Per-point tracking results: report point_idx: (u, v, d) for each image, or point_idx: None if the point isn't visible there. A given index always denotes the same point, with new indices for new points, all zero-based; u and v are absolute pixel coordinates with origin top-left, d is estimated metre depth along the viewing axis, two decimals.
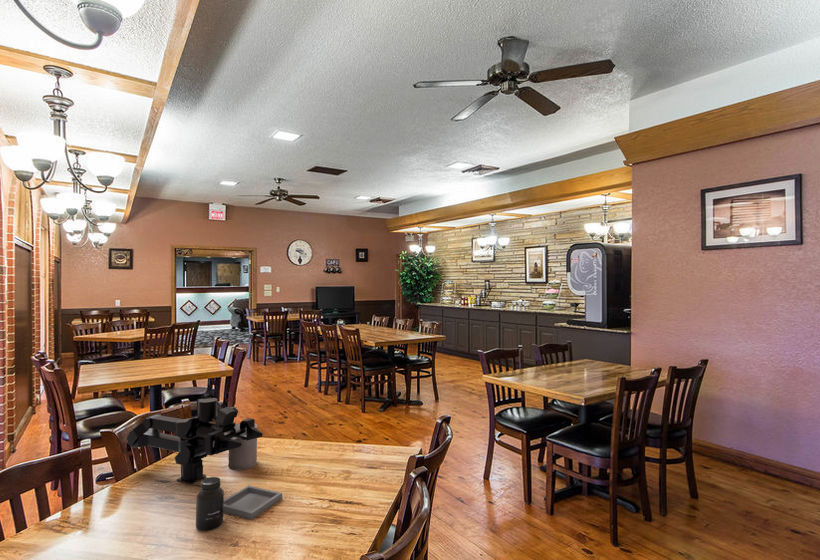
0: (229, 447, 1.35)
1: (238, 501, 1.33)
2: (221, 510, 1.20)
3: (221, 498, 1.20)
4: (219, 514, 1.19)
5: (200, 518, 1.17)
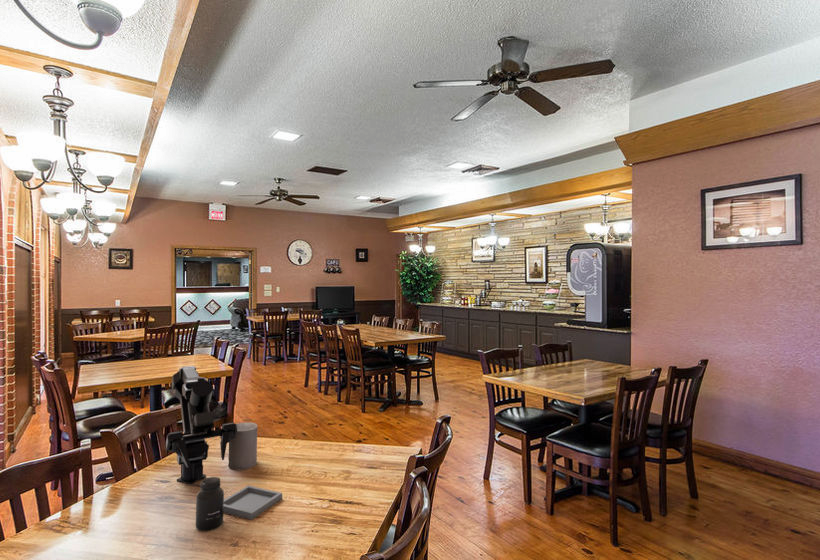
0: (182, 458, 1.27)
1: (238, 501, 1.33)
2: (221, 510, 1.20)
3: (221, 498, 1.20)
4: (219, 514, 1.19)
5: (200, 518, 1.17)
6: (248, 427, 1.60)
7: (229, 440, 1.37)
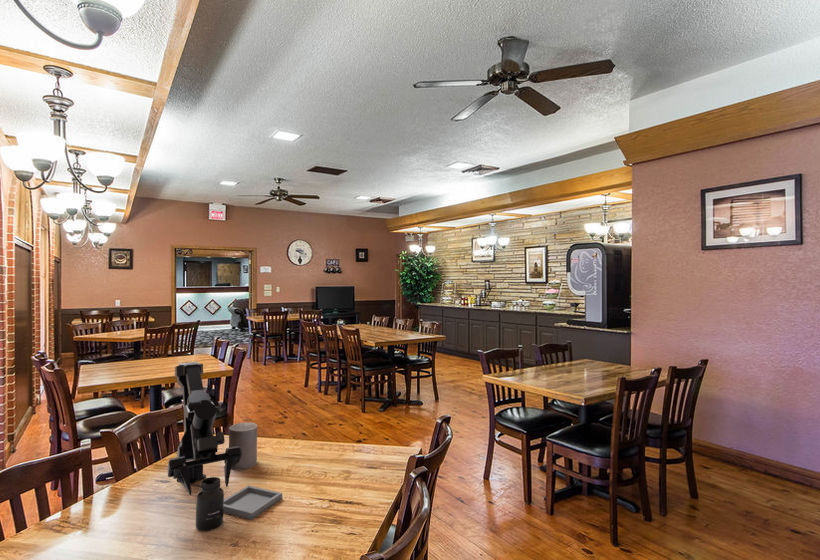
0: (184, 485, 1.21)
1: (238, 501, 1.33)
2: (221, 510, 1.20)
3: (221, 498, 1.20)
4: (219, 514, 1.19)
5: (200, 518, 1.17)
6: (248, 427, 1.60)
7: (233, 464, 1.31)
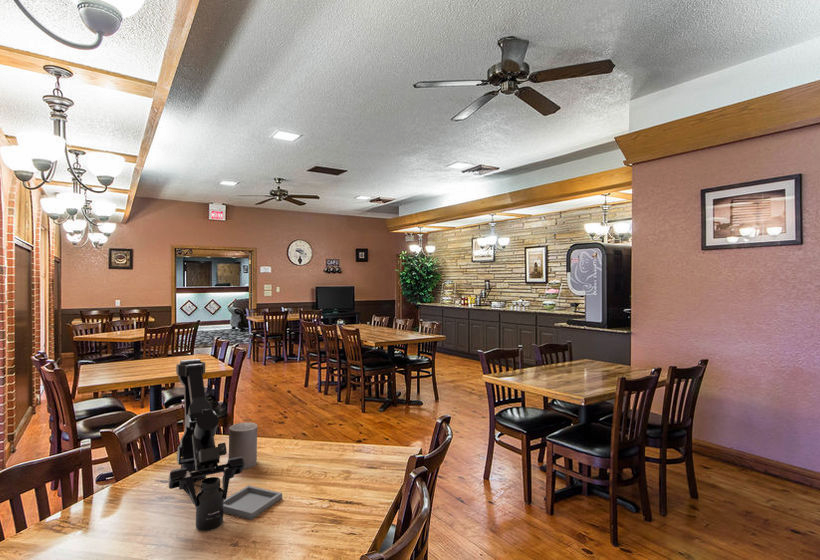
0: (189, 496, 1.20)
1: (238, 501, 1.33)
2: (221, 510, 1.20)
3: (221, 498, 1.20)
4: (219, 514, 1.19)
5: (200, 518, 1.17)
6: (248, 427, 1.60)
7: (232, 476, 1.28)
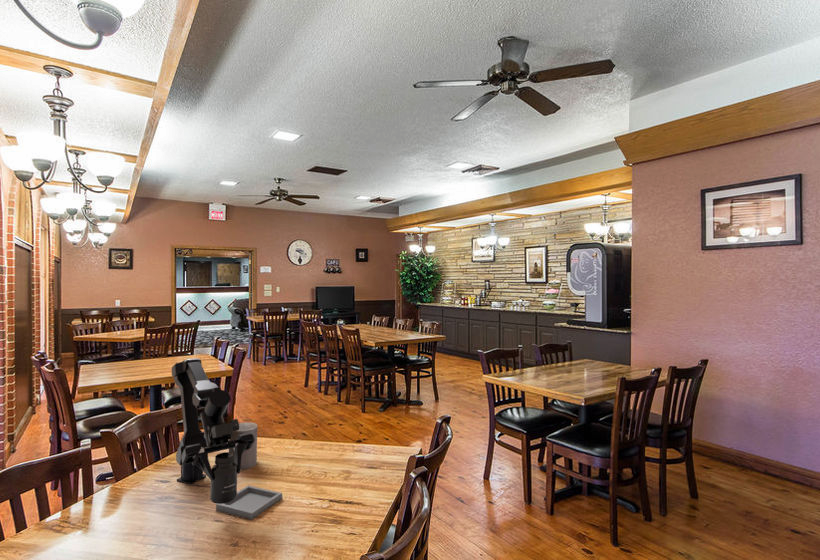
0: (204, 470, 1.22)
1: (238, 501, 1.33)
2: (235, 483, 1.24)
3: (235, 472, 1.24)
4: (234, 487, 1.23)
5: (216, 491, 1.21)
6: (248, 427, 1.60)
7: (242, 451, 1.32)
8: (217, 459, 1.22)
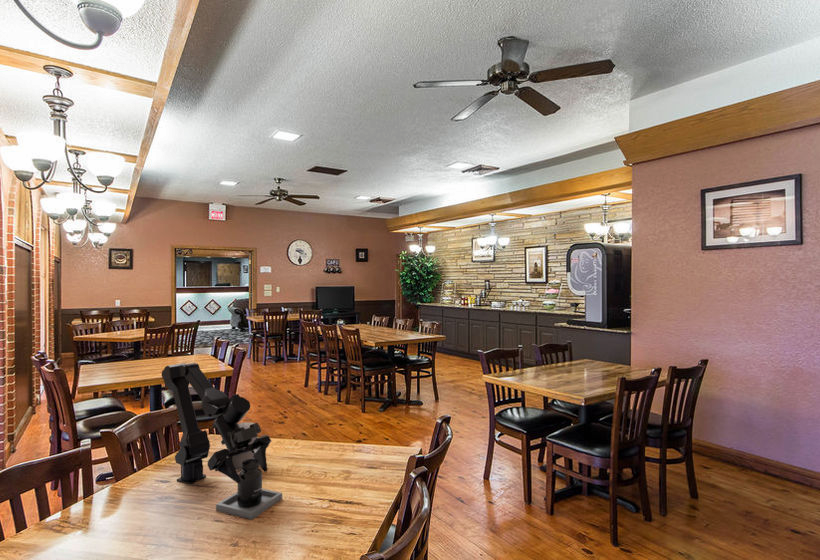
0: (229, 475, 1.28)
1: None
2: (261, 487, 1.33)
3: None
4: (261, 490, 1.32)
5: (246, 496, 1.29)
6: (248, 427, 1.60)
7: None
8: (245, 466, 1.30)
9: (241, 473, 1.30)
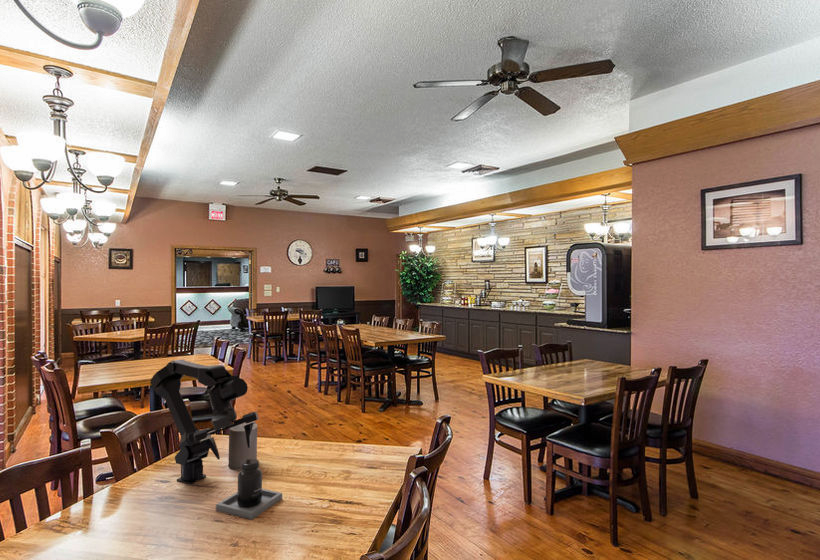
0: None
1: None
2: (261, 487, 1.33)
3: (261, 476, 1.33)
4: (261, 490, 1.32)
5: (246, 496, 1.29)
6: None
7: None
8: (245, 466, 1.30)
9: (241, 473, 1.30)
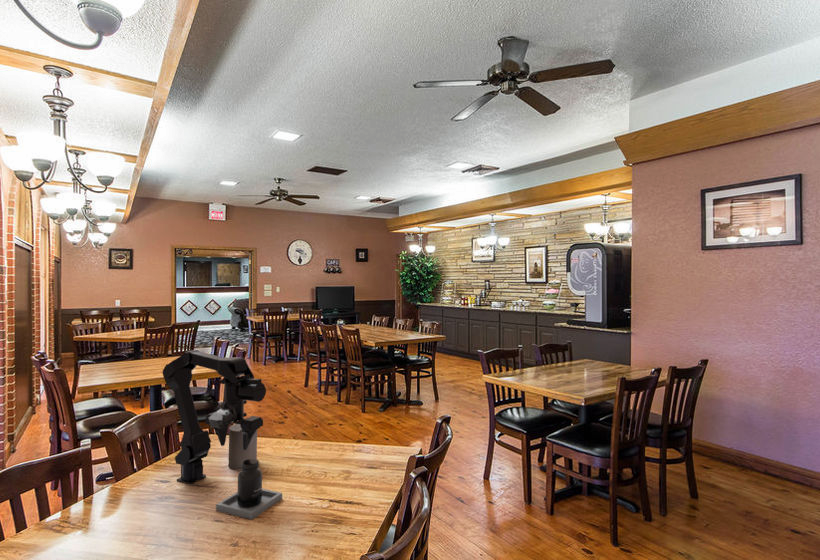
0: None
1: None
2: (261, 487, 1.33)
3: (261, 476, 1.33)
4: (261, 490, 1.32)
5: (246, 496, 1.29)
6: None
7: None
8: (245, 466, 1.30)
9: (241, 473, 1.30)
